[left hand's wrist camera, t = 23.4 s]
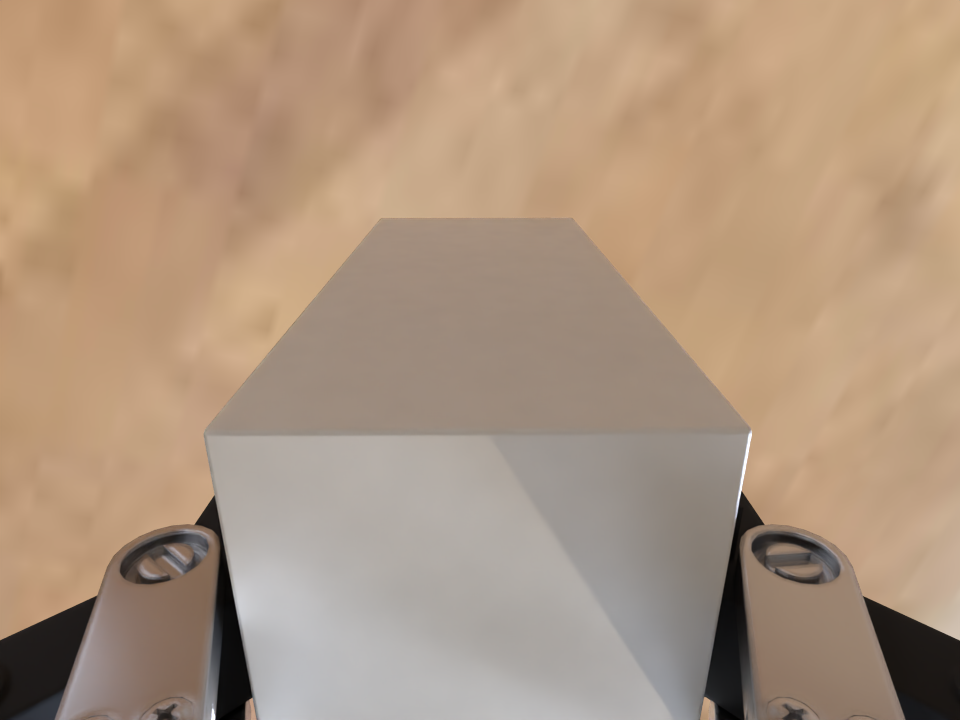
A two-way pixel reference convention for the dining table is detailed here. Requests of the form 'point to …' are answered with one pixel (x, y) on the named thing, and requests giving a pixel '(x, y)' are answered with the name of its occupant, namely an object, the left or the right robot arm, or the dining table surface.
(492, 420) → the block
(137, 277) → the dining table surface
